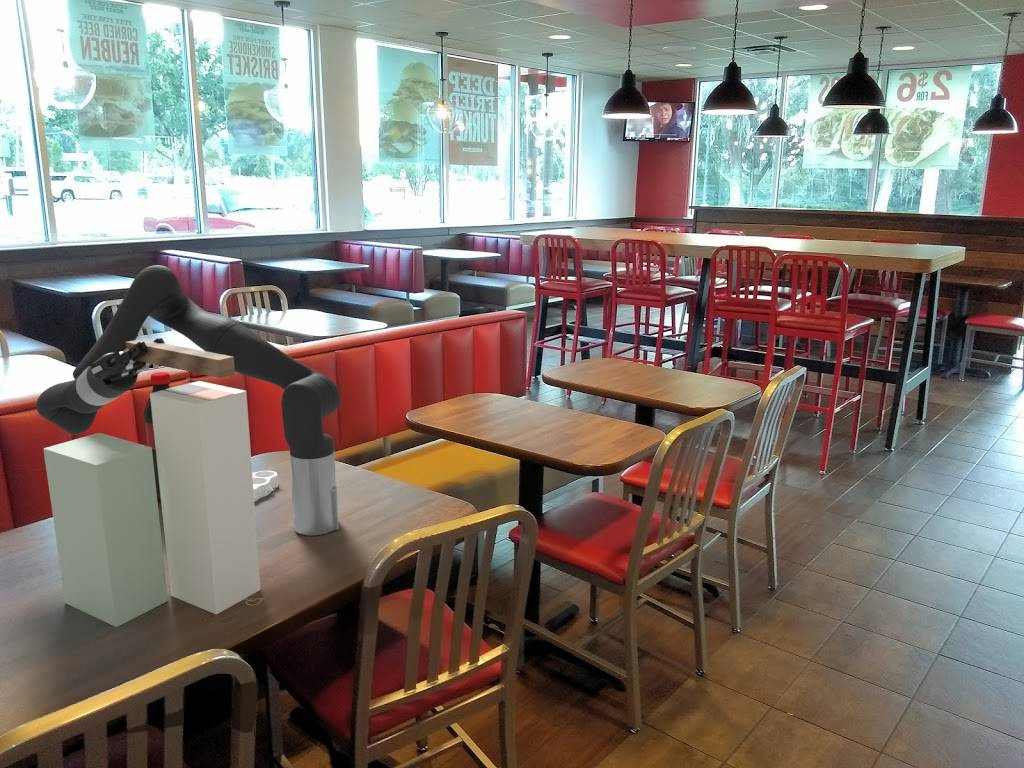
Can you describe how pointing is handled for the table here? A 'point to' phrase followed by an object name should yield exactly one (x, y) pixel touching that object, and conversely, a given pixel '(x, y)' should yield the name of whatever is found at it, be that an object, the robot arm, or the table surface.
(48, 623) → the table surface
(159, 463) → the stand
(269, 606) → the table surface
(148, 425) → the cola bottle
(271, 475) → the white brass knuckles
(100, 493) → the step
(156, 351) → the bar
